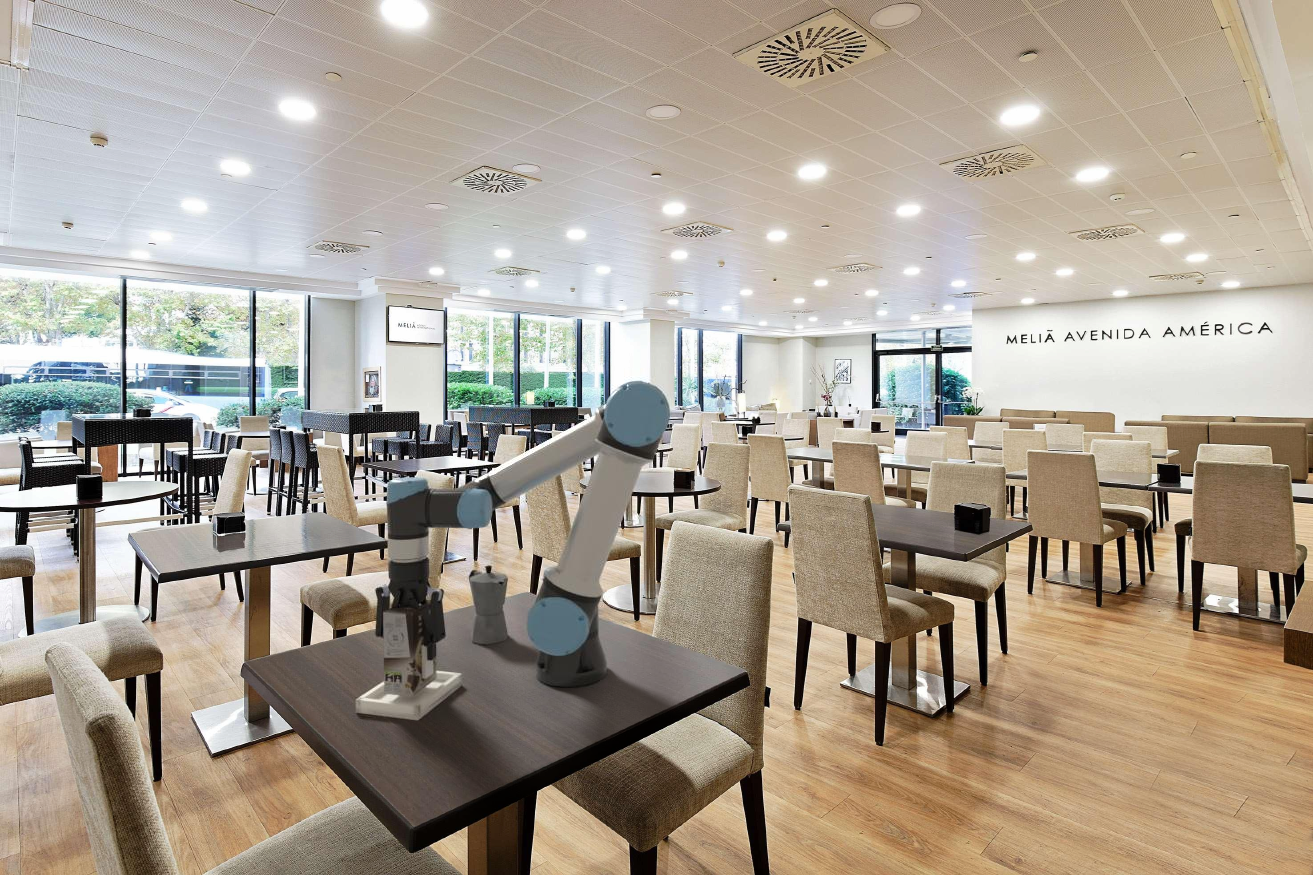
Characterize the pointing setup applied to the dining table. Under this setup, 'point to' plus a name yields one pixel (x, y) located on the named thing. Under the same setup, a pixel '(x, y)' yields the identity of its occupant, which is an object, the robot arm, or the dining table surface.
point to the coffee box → (404, 651)
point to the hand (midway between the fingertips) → (411, 673)
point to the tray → (409, 698)
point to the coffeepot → (488, 606)
